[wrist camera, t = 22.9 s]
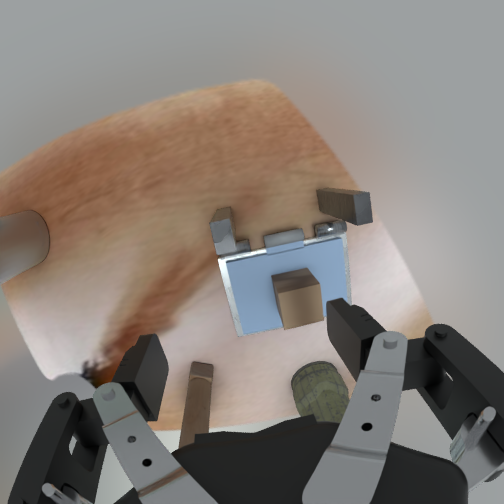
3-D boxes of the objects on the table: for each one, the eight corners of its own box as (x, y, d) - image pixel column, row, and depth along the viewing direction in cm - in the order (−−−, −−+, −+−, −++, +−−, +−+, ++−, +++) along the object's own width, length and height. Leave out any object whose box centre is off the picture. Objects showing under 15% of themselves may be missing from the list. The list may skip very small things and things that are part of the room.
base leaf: (237, 333, 40) (240, 385, 29) (207, 211, 35) (195, 226, 24) (349, 306, 41) (384, 347, 29) (336, 186, 36) (380, 190, 24)
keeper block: (277, 307, 38) (284, 330, 32) (270, 275, 36) (278, 293, 30) (311, 299, 38) (323, 320, 32) (307, 267, 36) (320, 283, 30)
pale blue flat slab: (243, 331, 39) (243, 338, 37) (221, 243, 35) (221, 246, 34) (345, 307, 39) (350, 312, 38) (337, 219, 36) (342, 221, 34)
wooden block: (187, 402, 44) (175, 481, 26) (192, 360, 41) (177, 448, 24) (206, 405, 44) (201, 485, 27) (214, 364, 42) (208, 453, 24)
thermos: (338, 348, 43) (437, 524, 9) (336, 394, 46) (402, 544, 12) (288, 359, 42) (350, 562, 8) (292, 404, 45) (336, 568, 12)
